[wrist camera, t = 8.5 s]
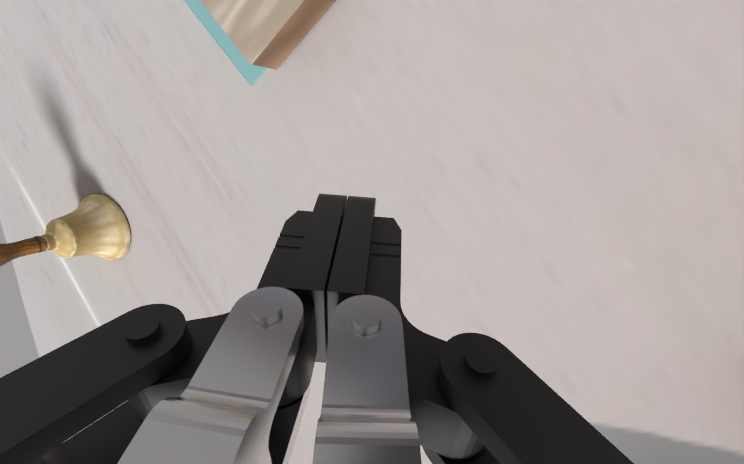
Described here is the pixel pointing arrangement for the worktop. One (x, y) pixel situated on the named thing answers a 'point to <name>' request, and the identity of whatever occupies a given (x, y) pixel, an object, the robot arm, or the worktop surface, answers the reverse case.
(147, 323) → the robot arm
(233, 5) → the block
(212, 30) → the mat
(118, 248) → the hand bell
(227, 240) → the worktop surface
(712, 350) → the worktop surface
